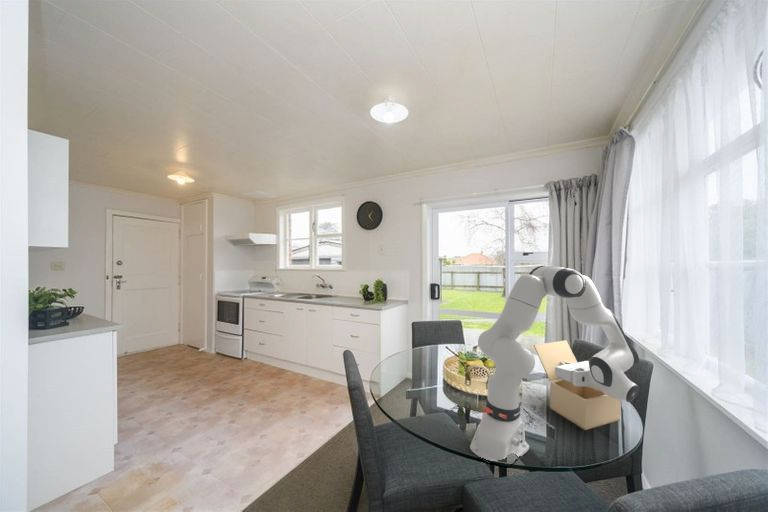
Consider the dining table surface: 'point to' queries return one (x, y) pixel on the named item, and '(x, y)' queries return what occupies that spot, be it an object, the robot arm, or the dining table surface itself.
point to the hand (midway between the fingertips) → (561, 363)
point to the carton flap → (554, 356)
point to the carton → (583, 405)
